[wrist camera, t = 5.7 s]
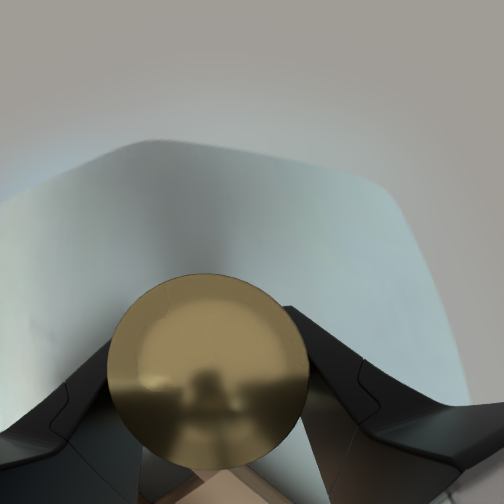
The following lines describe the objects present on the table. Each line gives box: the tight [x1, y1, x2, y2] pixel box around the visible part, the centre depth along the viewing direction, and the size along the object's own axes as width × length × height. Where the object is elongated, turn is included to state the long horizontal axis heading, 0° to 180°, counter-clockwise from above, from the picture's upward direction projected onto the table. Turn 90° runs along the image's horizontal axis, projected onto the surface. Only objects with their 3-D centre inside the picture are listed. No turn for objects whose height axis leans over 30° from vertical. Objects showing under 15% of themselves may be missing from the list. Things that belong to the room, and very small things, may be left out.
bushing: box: [107, 274, 310, 471], centre depth 10 cm, size 4×4×10 cm
